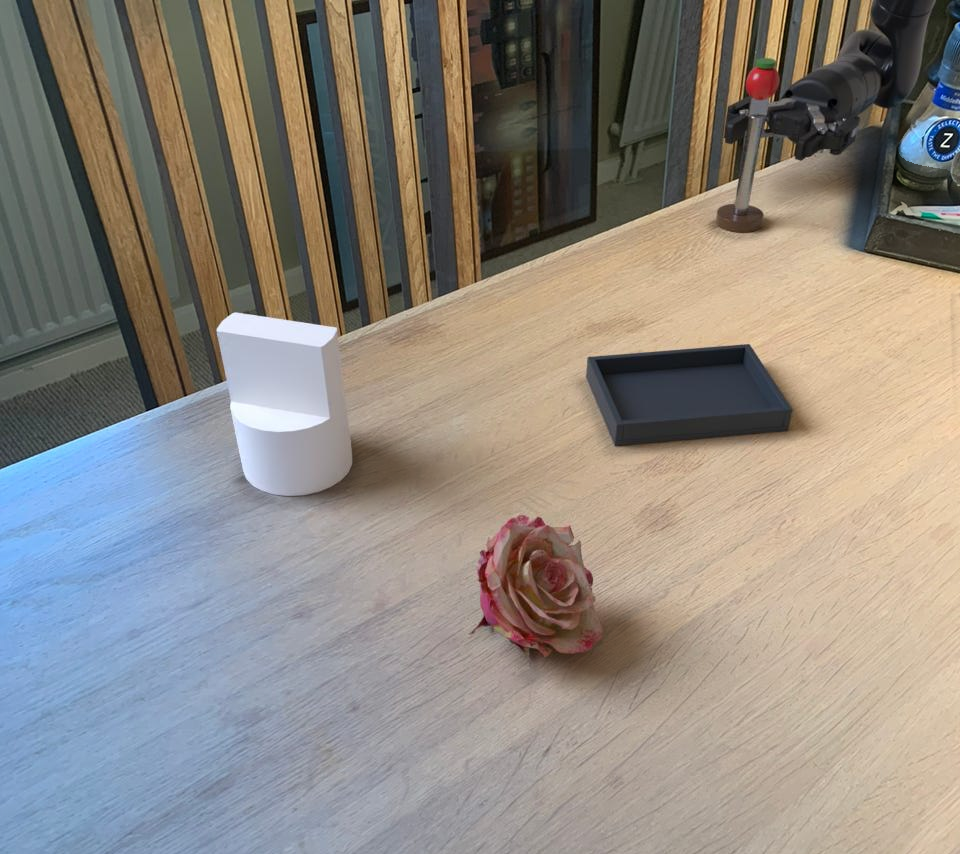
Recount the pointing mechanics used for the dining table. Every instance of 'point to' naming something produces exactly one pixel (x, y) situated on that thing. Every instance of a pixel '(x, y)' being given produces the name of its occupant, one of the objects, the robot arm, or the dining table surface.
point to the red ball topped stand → (751, 149)
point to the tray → (686, 394)
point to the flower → (537, 588)
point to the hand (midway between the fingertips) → (763, 142)
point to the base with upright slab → (286, 403)
